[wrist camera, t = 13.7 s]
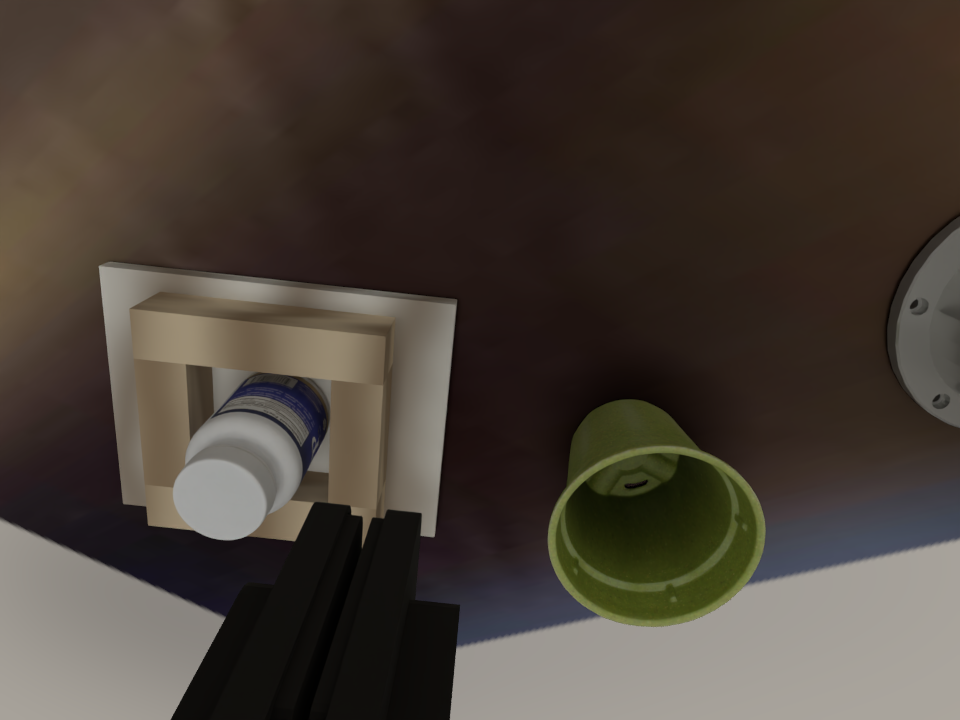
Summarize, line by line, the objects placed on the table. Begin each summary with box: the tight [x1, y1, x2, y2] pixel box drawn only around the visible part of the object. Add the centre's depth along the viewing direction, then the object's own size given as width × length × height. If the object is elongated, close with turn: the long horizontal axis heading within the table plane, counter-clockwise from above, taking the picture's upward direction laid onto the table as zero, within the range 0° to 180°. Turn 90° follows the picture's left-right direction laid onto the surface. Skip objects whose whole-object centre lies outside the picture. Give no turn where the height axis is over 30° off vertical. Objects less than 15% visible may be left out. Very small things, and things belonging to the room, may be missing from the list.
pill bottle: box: [173, 372, 330, 540], centre depth 32 cm, size 5×5×9 cm
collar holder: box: [99, 262, 457, 547], centre depth 36 cm, size 18×14×4 cm
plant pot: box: [548, 399, 766, 627], centre depth 34 cm, size 9×9×9 cm
